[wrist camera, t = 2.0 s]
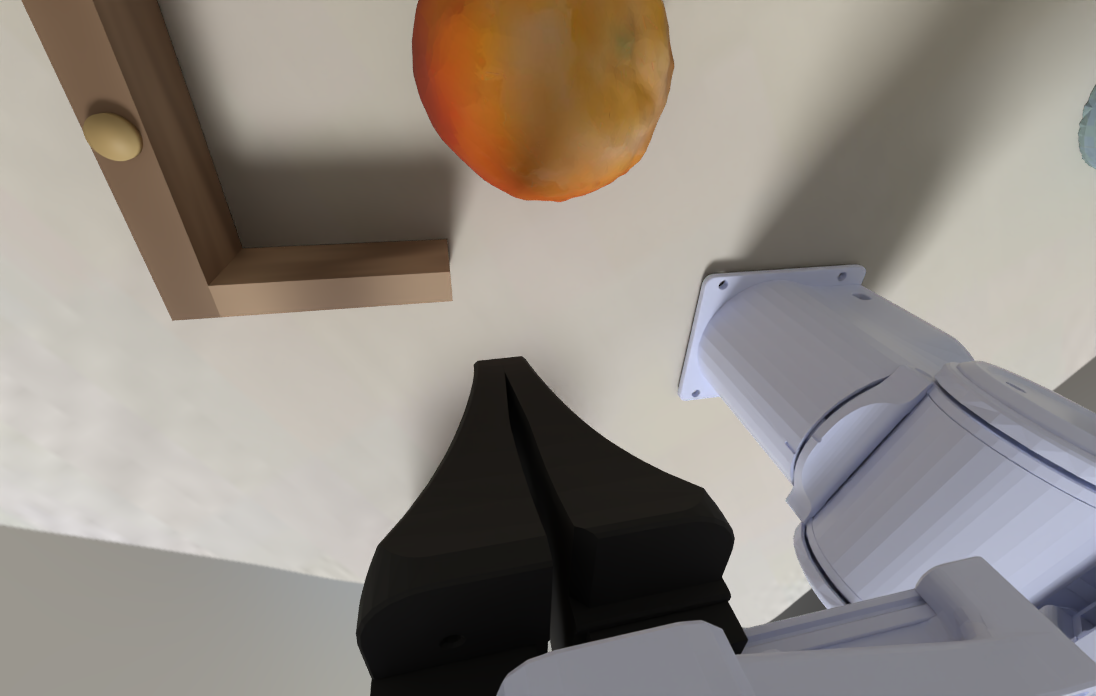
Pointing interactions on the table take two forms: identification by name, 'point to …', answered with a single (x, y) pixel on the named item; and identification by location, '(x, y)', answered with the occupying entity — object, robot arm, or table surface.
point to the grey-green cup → (1089, 131)
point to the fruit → (544, 88)
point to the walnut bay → (201, 181)
